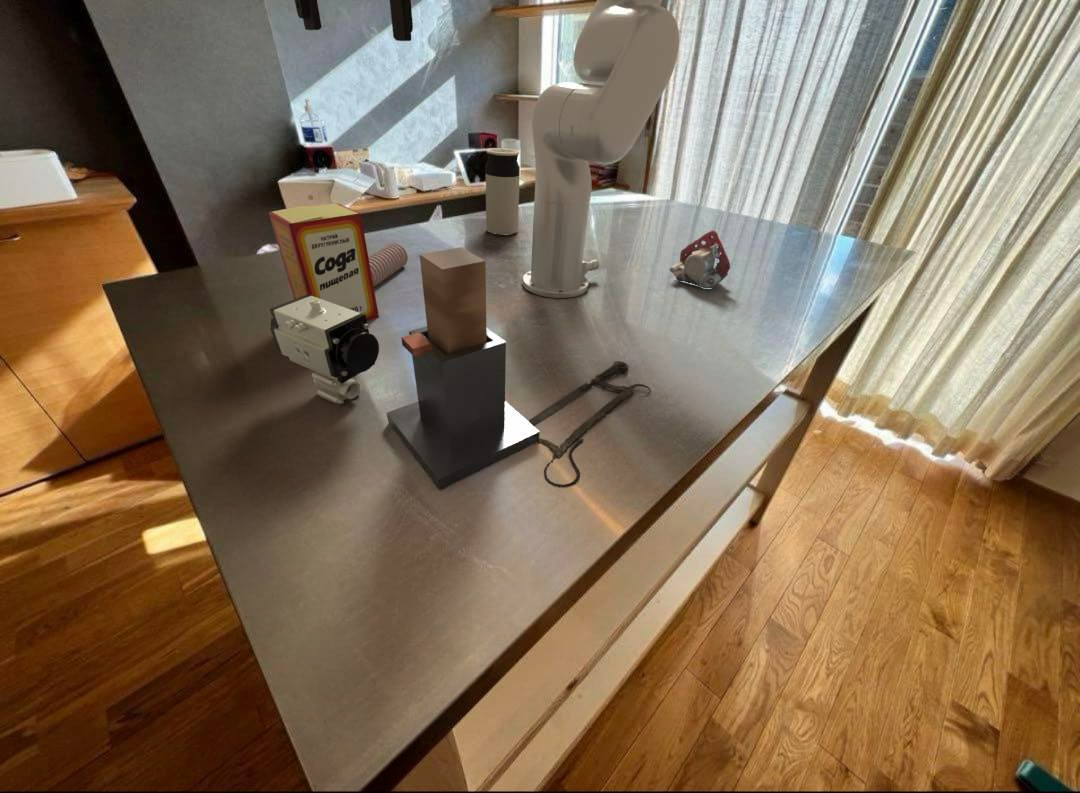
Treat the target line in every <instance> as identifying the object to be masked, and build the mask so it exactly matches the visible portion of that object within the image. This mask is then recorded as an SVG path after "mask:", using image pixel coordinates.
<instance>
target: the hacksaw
mask: <svg viewBox="0 0 1080 793" xmlns="http://www.w3.org/2000/svg"><path fill="white" fill-rule="evenodd" d="M629 367H630V365H628V363H626V362H624V361H620V360H616V361H614V362H613V365H611V366H610V367H609V368H607V369H605V370H603V372H601V373H599V374H598V375H596V376H595V377H594V378H592V379H591V380H590V381H589V383H587V382H585V383H583V384H581V385H580V386H579V387H577V388H576V389H574V390H572V391H571V392H569V393H568V394H567V395H564V396H563V397H561V398H560V399H559V400H557V401H556V402H553V403H552V404H551V405H549V406H548V407H546V408H545V409H543V410H541V411H540V412H538V413H537V414H536V415H535V416H533V417H532V418H530V419H528V420H527V421H528V422H530V423H531V424H532V425H533V426H534V427H536V425H539V424H541V423H542V422H543V421H545V420H546V419H548V418H549V417H551V416H552V415H554V414H556V413H557V412H559V411H560V410H562V409H563V408H565V407H566V406H567V405H569V404H570V403H572V402H573V401H575V400H576V399H577V398H579V397H581V396H582V395H584V394H585V393H587V392H589V391H590V390H591V389H593V387H598V386H599V387H601V388H602V392H603V391H604V392H605V390H608V391H611V392H617V393H618V394H616V396H615V397H614V398H612V399H611V400H610V401H609V402H607V403H606V404H605V405H604V406H602V407H601V408H600V409H599V410H598V411H596V412H595V413H594V414H593V415H591V416H590V417H589V418H588V419H587V420H586V421H584V422H583V423H582V424H581V425H580V426H578V427H577V428H576V429H575V430H574V431H573V432H572V433H571V434H570V435H569V436H568V438H565V440H564V442H562V443H561V444H560V445H556V444H554V443H553V442H551V441H549V440H547V439H544V438H540V437H539V441H538V442H537V443H536V444H541V445H543V446H545V447H546V448H548V449H549V451H550V452H552V453H553V454H552V459H551V461H550V462H548V463H547V464H546V466H545V467H544V469H543V478H544V480H545V481H546V482H547V484H550V485H552V486H553V487H556V488H568V487H573V486H574V485H576V484H577V483H578V482H579V480H580V478H581V472H580V470H579V468H578V466H577V464H576V463H575V461H574V459H573V458H574V457H573V455H572V454H573V452H574V450H575V449H577V447H579V446H580V445H582V444H583V443H584V440H585V439H584V438H582V437H583V436H584V435H586V434H587V433H588V431H589V430H591V429H592V428H593V427H595V426H596V424H598V423H599V422H601V421H602V420H603V419H604V418H606V417H607V415H609V414H611V413H612V412H613V411H615V410H616V409H617V408H618V407H620V406H621V405H622V404H623V403H625V402H627V401H628V399H630V398H631V397H633V396H634V395H635V394H634V390H635V388H637V387H644V388H646V389H647V390H648V393H647V394H646V395H642V396H640V398H645V397H647V396H649V395H650V394H651V388H650V387H649V386H647V385H645V384H643V383H635V384H632V385H629V386H625V385H615V384H611V383H609V382H607V381H608V380H610V379H611V378H613V377H615V376H616V375H621V374H622V375H623V374H626V373H627V372H628V370H629ZM569 448H571V449H570V450H569ZM568 450H569V451H568ZM567 451H568V459H569V461H570V464H571V466H572V467H573V468H572V469H574V470H575V471H574V472H575V473H576V476H575V478H574V479H573V481H571V482H568V483H565V484H561V483H555V482H553V481H552V480H550V479H549V478H548V475H547V472H548V468H549V466H550V465H551V464H552V463H554V461H555V460H556V459H558V460H560V459H561V458H562V457H563V456H564V454H565V453H567Z"/></svg>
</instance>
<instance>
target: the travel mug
mask: <svg viewBox="0 0 1080 793" xmlns="http://www.w3.org/2000/svg"><path fill="white" fill-rule="evenodd" d="M486 153H487V158H488V160H487V162H486V164H485V216H486V217H485V218H486V219H485V220H486V221H485V222H486V223H485V224H486V226H485V228H486V229H487V230H486V231H487V232H488V233H489V232H491V233H490V234H492V233H496V234H511V233H515V232H516V231H519V210H520V209H519V207H520V206H519V205H520V203H519V202H520V170H521V168H520V165H519V162H518V156H519V154H520V151H518V150H516V149H511V148H500V147H499V148H498V147H496V148H495V147H494V148H487V149H486ZM515 234H516V233H515Z"/></svg>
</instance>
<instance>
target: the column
mask: <svg viewBox="0 0 1080 793" xmlns="http://www.w3.org/2000/svg"><path fill="white" fill-rule="evenodd" d="M419 261H420V262H419V263H420V272H421V273H420V274H421V281H422V282H421V283H422V291H423V300H424V310H425V319H426V327H427V330H428V340H429V341H431V342H432V343H433V344H434V345H435V346H436V347H437V348H438V349H439V350H441V351H442V352H443V353H444V354H445V355H446V356H447V355H450V354H453V353H456V352H459V351H463V350H466V349H469V348H472V347H475V346H479V345H482V344H485V343H487V331H486V328H487V284H486V282H487V281H486V280H487V276H486V275H487V273H486V272H487V271H486V270H487V269H486V268H487V266H486V265H487V264H486V260H485V259H483V258H481V257H479V256H478V255H475V254H474V253H472V252H470V251H469V250H467V249H465V248H463V247H462V246H461V247H456V248H449V249H444V250H436V251H432V252H426V253H421V254H419Z"/></svg>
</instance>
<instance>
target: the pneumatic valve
mask: <svg viewBox="0 0 1080 793" xmlns="http://www.w3.org/2000/svg"><path fill="white" fill-rule="evenodd" d="M269 311H270V314H271V320H270V328H269V330H270V331H271V335H272V338H273V340H274V344H275V347H276V350H277V352H278V353H279V354H280V355H283V356H285V359H286V360H288V361H291V362H293V363H295V364H298V365H300V366H303V367H304V368H307V369H309V370H312V373H311V377H312V380H313V383H315V386H316V388H317V392H316V393H317V396H318V397H320V398H322V399H324V400H327V401H328V402H330V403H333V404H335V405H337V406H341V405H344V403H345V401H346V400H349V401H350V400H353V399H354V398H356V397H357V396H359V395H360V394H361V392H362V391H361V384H360V383H359V382H358V380H357V378H356V377H357V376H358V375H360V374H361V373H364V372H367V371H368V370H370V369H371V368H372V367H373V366H375V364H376V361H377V359H378V357H379V353H380V344H379V341H378V338H377V337H376V336H375V335H374V334H372V333H370V332H369V331H370V330H369V326H370V325H369V324H368V321H367V320H366V315H364V314H361V313H359V312H356V311H353V310H350V309H347V308H344V307H342V306H339V305H336V304H333V303H330V302H328V301H325V300H322V299H319V298H316V297H313V296H311V295H308V294H307V295H305V296H302V297H299V298H297V299H294V298H293V299H291V300H290V301H286V302H284V303H281V304H279V305H276V306H273V307H271V308H270V309H269Z"/></svg>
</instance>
